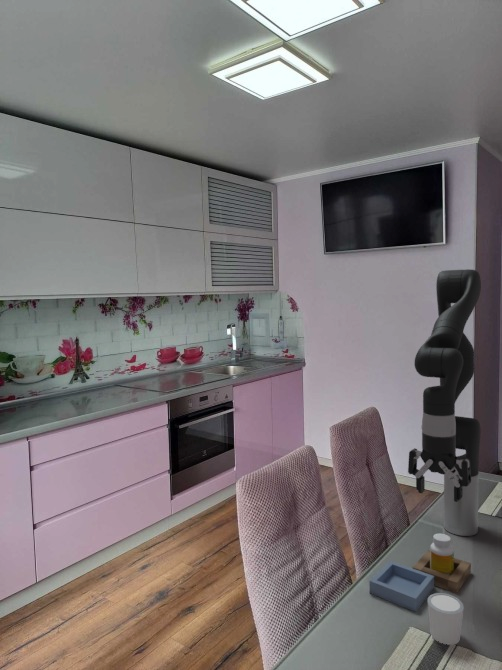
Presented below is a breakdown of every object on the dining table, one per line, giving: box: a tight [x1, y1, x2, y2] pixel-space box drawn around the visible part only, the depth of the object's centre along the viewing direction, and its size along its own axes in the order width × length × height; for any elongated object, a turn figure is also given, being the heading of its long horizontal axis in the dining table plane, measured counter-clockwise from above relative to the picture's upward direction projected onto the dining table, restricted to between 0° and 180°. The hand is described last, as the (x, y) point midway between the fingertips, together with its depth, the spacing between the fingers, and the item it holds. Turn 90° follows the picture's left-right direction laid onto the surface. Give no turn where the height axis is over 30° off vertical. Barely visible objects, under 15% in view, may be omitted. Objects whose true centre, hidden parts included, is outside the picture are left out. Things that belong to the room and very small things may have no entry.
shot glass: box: [427, 592, 464, 646], centre depth 101 cm, size 7×7×7 cm
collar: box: [411, 549, 472, 594], centre depth 122 cm, size 10×10×2 cm
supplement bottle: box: [429, 533, 455, 576], centre depth 122 cm, size 5×5×10 cm
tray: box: [369, 560, 435, 612], centre depth 116 cm, size 11×11×3 cm
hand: (438, 496), depth 120 cm, fingers open, 8 cm apart
